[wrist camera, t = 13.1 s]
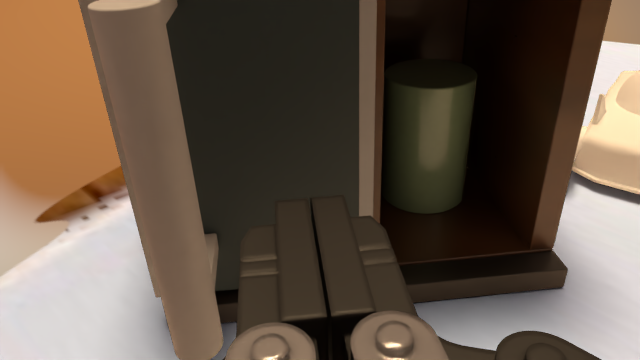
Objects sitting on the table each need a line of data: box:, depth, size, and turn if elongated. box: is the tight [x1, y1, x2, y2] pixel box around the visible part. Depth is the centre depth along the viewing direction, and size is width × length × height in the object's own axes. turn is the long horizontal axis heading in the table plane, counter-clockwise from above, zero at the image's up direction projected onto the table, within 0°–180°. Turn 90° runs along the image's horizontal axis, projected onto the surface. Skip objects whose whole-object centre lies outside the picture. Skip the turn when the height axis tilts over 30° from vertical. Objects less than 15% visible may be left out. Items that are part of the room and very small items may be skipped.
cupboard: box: [215, 0, 612, 323], centre depth 25 cm, size 13×18×16 cm
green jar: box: [381, 59, 478, 214], centre depth 28 cm, size 5×5×7 cm
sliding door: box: [78, 0, 377, 360], centre depth 17 cm, size 6×9×13 cm, turn 96°
